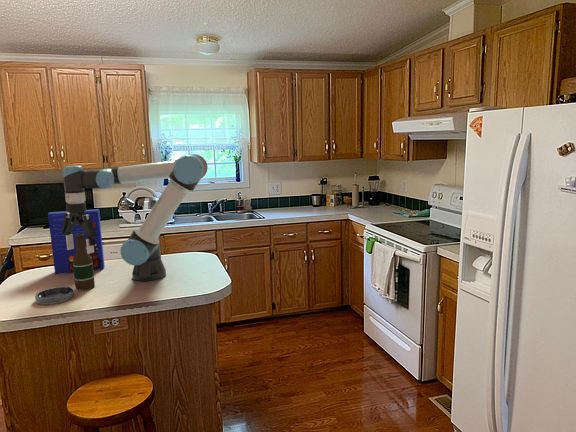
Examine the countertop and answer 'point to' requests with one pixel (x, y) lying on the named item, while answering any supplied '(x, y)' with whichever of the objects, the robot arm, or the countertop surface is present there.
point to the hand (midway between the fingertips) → (80, 251)
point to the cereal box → (59, 244)
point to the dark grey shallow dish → (54, 295)
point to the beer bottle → (82, 266)
